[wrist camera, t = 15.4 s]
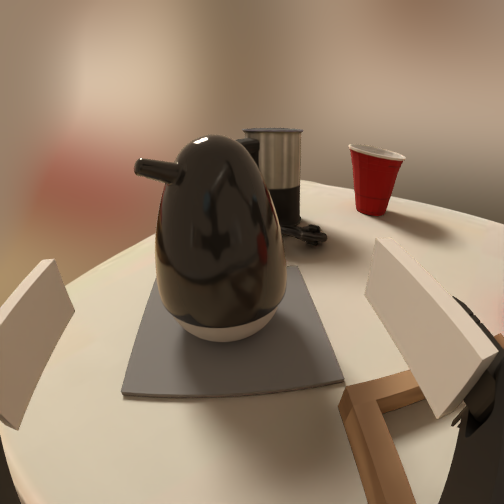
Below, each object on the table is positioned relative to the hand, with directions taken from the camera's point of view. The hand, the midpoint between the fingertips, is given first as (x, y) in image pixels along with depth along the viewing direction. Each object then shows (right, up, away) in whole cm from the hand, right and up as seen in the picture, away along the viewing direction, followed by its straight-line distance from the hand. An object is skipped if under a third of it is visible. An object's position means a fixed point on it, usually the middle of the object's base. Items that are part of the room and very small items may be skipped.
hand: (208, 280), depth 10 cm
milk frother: (+6, +4, +32) cm, 33 cm away
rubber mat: (-1, -5, +14) cm, 15 cm away
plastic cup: (+24, +9, +39) cm, 46 cm away
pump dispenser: (-1, -5, +14) cm, 15 cm away
